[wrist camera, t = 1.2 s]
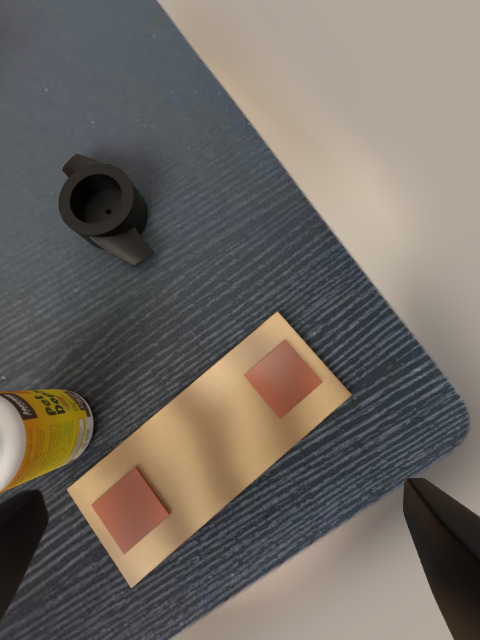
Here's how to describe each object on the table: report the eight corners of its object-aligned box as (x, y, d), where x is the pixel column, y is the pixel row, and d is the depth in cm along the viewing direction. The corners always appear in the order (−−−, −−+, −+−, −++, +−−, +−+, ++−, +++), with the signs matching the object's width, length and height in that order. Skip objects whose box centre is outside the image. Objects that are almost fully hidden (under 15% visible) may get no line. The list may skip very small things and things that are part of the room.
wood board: (133, 584, 23) (129, 591, 22) (69, 487, 24) (63, 490, 24) (350, 394, 24) (353, 395, 23) (277, 312, 25) (277, 310, 25)
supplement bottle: (107, 401, 25) (2, 417, 15) (80, 475, 24) (-50, 545, 14) (43, 378, 26) (-100, 379, 16) (14, 449, 25) (-155, 499, 15)
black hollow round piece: (157, 158, 28) (145, 134, 25) (159, 270, 27) (146, 257, 24) (70, 167, 29) (49, 144, 26) (66, 278, 27) (43, 266, 24)
